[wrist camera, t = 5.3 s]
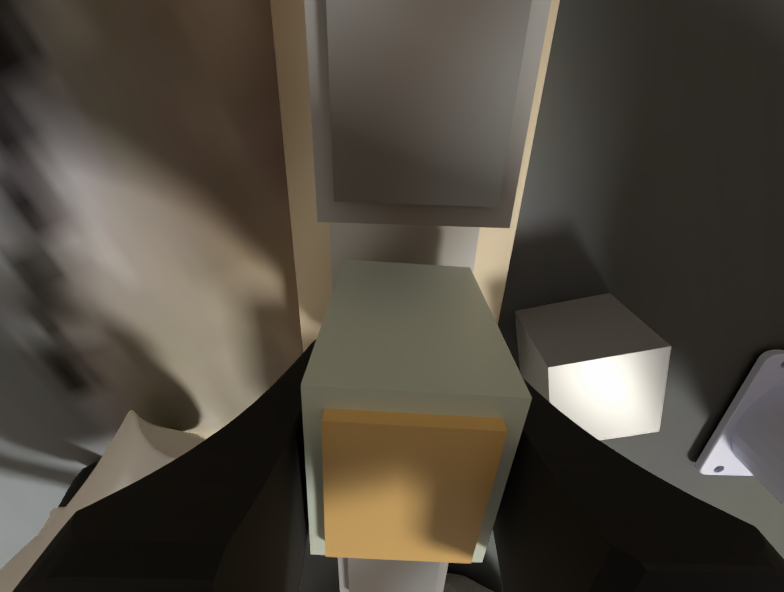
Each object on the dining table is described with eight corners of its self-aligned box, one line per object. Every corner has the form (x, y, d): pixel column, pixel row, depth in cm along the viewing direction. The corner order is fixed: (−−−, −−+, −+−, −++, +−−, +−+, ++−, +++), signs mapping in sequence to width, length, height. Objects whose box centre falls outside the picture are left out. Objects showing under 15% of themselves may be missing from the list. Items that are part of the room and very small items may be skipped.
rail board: (552, -36, 11) (755, -216, 5) (462, 471, 21) (490, 621, 15) (276, -47, 11) (124, -246, 5) (319, 468, 21) (289, 617, 15)
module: (470, 267, 12) (538, 410, 6) (449, 389, 14) (485, 577, 8) (344, 259, 12) (296, 397, 6) (343, 383, 14) (307, 568, 8)
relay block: (608, 292, 16) (671, 346, 12) (605, 365, 18) (659, 431, 14) (513, 309, 16) (547, 367, 13) (520, 379, 18) (551, 447, 14)
